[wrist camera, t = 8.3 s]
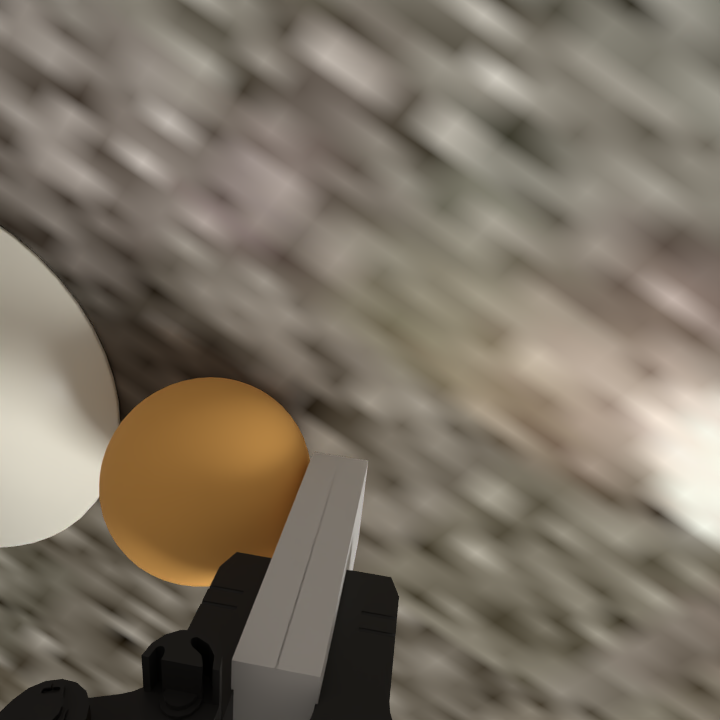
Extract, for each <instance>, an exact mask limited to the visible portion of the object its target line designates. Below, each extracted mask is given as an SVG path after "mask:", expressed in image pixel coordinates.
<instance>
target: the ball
mask: <svg viewBox="0 0 720 720" xmlns="http://www.w3.org/2000/svg"><path fill="white" fill-rule="evenodd" d="M309 463H310V459H309V454H308V450H307V447H306V444H305V441H304V438H303V436H302V434H301V432H300V430H299V428H298V426H297V424H296V423H295V421H294V420H293V418H292V417H291V416H290V414H289V413H288V412H287V411H286V410H285V409H284V408H283V407H282V406H281V405H280V404H279V403H278V402H277V401H276V400H274V399H273V398H272V397H271V396H269V395H268V394H266V393H265V392H263V391H262V390H260V389H257V388H255V387H253V386H251V385H249V384H246V383H243V382H240V381H237V380H232V379H226V378H215V377H206V378H195V379H190V380H185V381H181V382H178V383H175V384H172V385H169V386H167V387H165V388H163V389H161V390H159V391H157V392H155V393H153V394H152V395H150V396H149V397H147V398H146V399H144V400H143V401H142V402H141V403H139V404H138V405H137V406H136V407H135V408H133V410H132V411H131V412H130V413H129V414H128V415H127V416H126V417H125V418H124V419H123V421H122V422H121V423H120V425H119V426H118V428H117V429H116V431H115V432H114V434H113V436H112V438H111V440H110V442H109V444H108V446H107V448H106V451H105V455H104V458H103V461H102V465H101V470H100V478H99V497H100V504H101V508H102V513H103V517H104V520H105V522H106V525H107V527H108V530H109V532H110V534H111V536H112V537H113V539H114V541H115V542H116V544H117V545H118V547H119V548H120V549H121V550H122V551H123V552H124V554H125V555H126V556H127V557H128V558H129V559H130V560H131V561H132V562H134V563H135V564H136V565H137V566H138V567H140V568H141V569H143V570H144V571H146V572H148V573H149V574H151V575H153V576H155V577H158V578H160V579H162V580H165V581H168V582H172V583H175V584H179V585H187V586H210V585H211V583H212V581H213V579H214V577H215V575H216V573H217V571H218V569H219V567H220V566H221V565H222V564H223V563H224V562H225V561H227V560H228V559H229V558H230V557H231V556H232V555H234V554H235V553H236V552H240V553H246V554H252V555H257V556H263V557H269V558H272V557H273V554H274V551H275V549H276V546H277V544H278V541H279V539H280V536H281V534H282V531H283V529H284V526H285V524H286V521H287V518H288V516H289V513H290V511H291V508H292V506H293V503H294V501H295V498H296V496H297V493H298V491H299V488H300V485H301V483H302V480H303V478H304V475H305V473H306V470H307V468H308V465H309Z"/></svg>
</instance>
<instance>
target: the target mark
mask: <svg viewBox="0 0 720 720" xmlns="http://www.w3.org/2000/svg"><path fill="white" fill-rule="evenodd" d="M119 425H120V410H119V400H118V395H117V390H116V386H115V381H114V377H113V374H112V371H111V368H110V365H109V362H108V359H107V356H106V353H105V351H104V349H103V347H102V345H101V343H100V340H99V338H98V336H97V334H96V332H95V330H94V328H93V326H92V325H91V323H90V321H89V320H88V318H87V316H86V315H85V313H84V312H83V310H82V308H81V307H80V305H79V303H78V302H77V301H76V299H75V298H74V297H73V296H72V294H71V293H70V292H69V290H68V289H67V288H66V286H65V285H64V284H63V283H62V281H61V280H60V279H59V278H58V277H57V276H56V274H55V273H54V272H53V271H52V270H51V269H50V268H49V267H48V266H47V265H46V264H45V263H44V262H43V261H42V260H41V259H40V258H39V257H38V256H37V255H36V254H35V253H34V252H33V251H32V250H30V249H29V248H28V247H27V246H26V245H25V244H23V243H22V242H21V241H20V240H19V239H18V238H16V237H15V236H14V235H13V234H11V233H10V232H8V231H7V230H5V229H4V228H3V227H1V226H0V547H13V546H19V545H24V544H30V543H34V542H37V541H40V540H43V539H46V538H49V537H51V536H53V535H55V534H57V533H59V532H61V531H63V530H65V529H67V528H68V527H69V526H71V525H72V524H73V523H75V522H76V521H77V520H79V519H80V518H81V517H82V516H83V515H84V514H85V513H86V512H87V511H88V510H89V509H90V507H91V506H92V505H93V504H94V503H95V502H96V501H97V499H98V498H99V478H100V470H101V465H102V461H103V458H104V455H105V451H106V448H107V446H108V444H109V442H110V440H111V438H112V436H113V434H114V432H115V431H116V429H117V428H118V426H119Z"/></svg>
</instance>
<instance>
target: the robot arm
mask: <svg viewBox="0 0 720 720" xmlns="http://www.w3.org/2000/svg"><path fill="white" fill-rule="evenodd" d="M367 467H368V460H362V459H356V458H350V457H343V456H337V455H331V454H324V453H318V452H313V455H312V458H311V460H310V463H309V465H308V468H307V470H306V473H305V475H304V478H303V480H302V483H301V485H300V488H299V491H298V493H297V496H296V498H295V501H294V503H293V506H292V508H291V511H290V513H289V516H288V518H287V521H286V524H285V526H284V529H283V531H282V534H281V536H280V539H279V541H278V544H277V546H276V549H275V551H274V554H273V557H272V558H269V557H263V556H257V555H252V554H246V553H240V552H236V553H235V554H234V555H232V556H231V557H230V558H229V559H228V560H227V561H225V562H224V563H223V564H222V565H221V566H220V567H219V569H218V571H217V573H216V575H215V577H214V579H213V581H212V583H211V585H210V588H209V589H208V590H207V592H206V594H205V596H204V598H203V601H202V604H200V606H199V608H198V610H197V612H196V614H195V616H194V618H193V620H192V622H191V624H190V626H189V628H188V630H180V631H176V632H173V633H169V634H166V635H164V636H162V637H161V638H159V639H158V640H156V641H155V642H153V643H152V644H151V645H150V646H149V647H148V648H147V650H146V651H145V652H144V653H143V654H142V670H143V686H144V687H142V688H140V689H138V690H135V691H133V692H128V693H124V694H118V695H110V696H101V697H93V698H88V696H87V692H86V690H84V689H83V688H82V687H81V686H80V685H79V684H78V683H76V682H72V681H68V680H64V679H59V680H51V681H45V682H42V683H40V684H38V685H35V686H33V687H30V688H28V689H27V690H25V691H24V692H23V693H21V694H20V695H19V696H17V697H16V698H15V699H13V700H12V701H11V702H10V703H9V704H8V705H7V706H6V707H5V708H4V709H3V710H2V711H1V712H0V720H392V718H391V714H390V705H389V699H390V688H391V677H392V666H393V655H394V644H395V633H396V622H397V611H398V600H399V596H398V593H397V591H396V588H395V586H394V583H393V581H392V578H391V577H386V576H380V575H375V574H369V573H363V572H357V571H352V570H353V565H354V560H355V555H356V550H357V545H358V539H359V531H360V523H361V515H362V507H363V499H364V491H365V483H366V475H367Z"/></svg>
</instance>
